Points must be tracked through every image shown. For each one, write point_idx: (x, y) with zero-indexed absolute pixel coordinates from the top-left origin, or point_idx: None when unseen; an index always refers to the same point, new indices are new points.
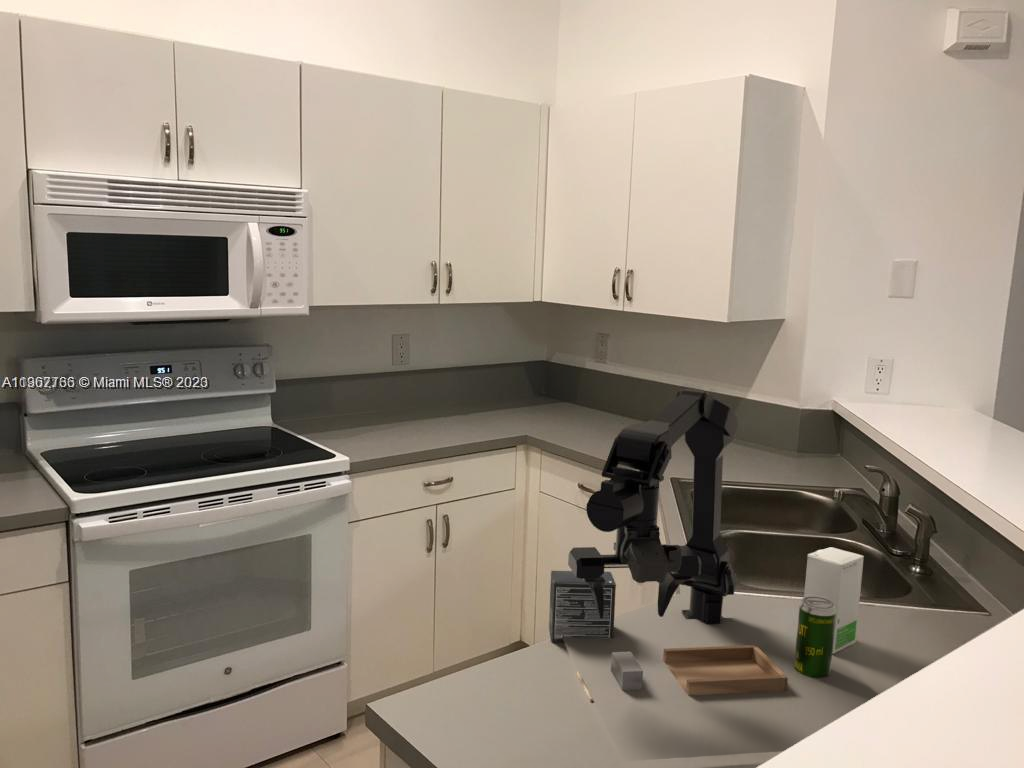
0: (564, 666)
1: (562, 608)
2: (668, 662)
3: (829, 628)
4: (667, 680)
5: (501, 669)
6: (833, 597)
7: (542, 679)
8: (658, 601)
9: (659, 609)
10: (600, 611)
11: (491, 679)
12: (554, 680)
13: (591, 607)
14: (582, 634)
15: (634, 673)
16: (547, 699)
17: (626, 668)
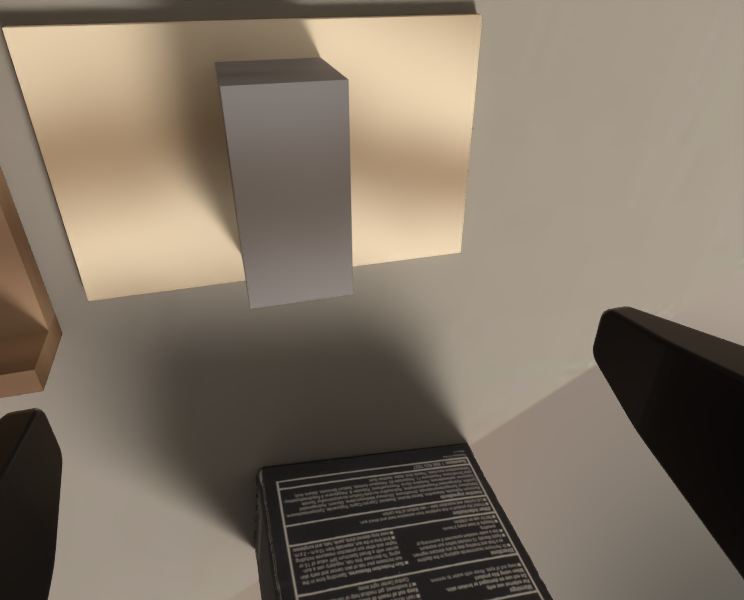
0: (480, 302)
1: (493, 555)
2: (27, 334)
3: None
4: (47, 213)
5: (682, 268)
6: None
7: (588, 207)
8: (38, 588)
9: (39, 486)
10: (690, 331)
11: (740, 202)
12: (551, 200)
13: (383, 583)
14: (380, 479)
15: (274, 80)
16: (634, 47)
17: (318, 121)
